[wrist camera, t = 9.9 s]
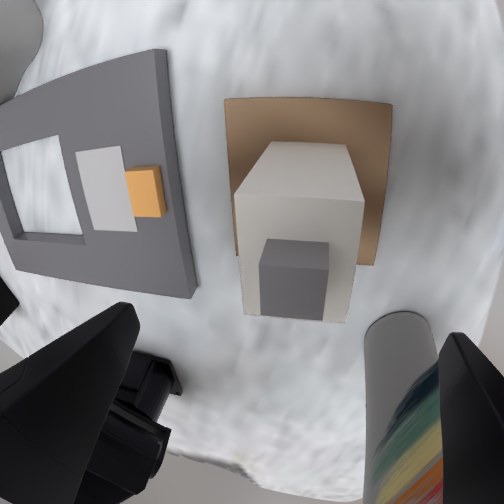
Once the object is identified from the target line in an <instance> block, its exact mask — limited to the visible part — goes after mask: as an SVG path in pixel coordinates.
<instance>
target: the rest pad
mask: <svg viewBox="0 0 504 504" xmlns="http://www.w3.org/2000/svg"><path fill="white" fill-rule="evenodd" d="M392 106H393V105H391V104H384V103H376V102H366V101H355V100H343V99H326V98H299V97H263V98H235V99H225V100H224V108H225V122H226V136H227V150H228V163H229V176H230V188H231V201H232V213H233V225H234V237H235V248H236V256H239V252H238V240H237V227H236V215H235V202H234V194H235V192H236V191H237V189H238V188H239V186H240V185H241V184H242V182H243V181H244V179H245V178H246V177H247V175H248V174H249V172H250V171H251V169H252V168H253V167H254V165H255V164H256V162H257V161H258V160H259V158H260V157H261V155H262V154H263V153H264V151H265V150H266V148H267V147H268V146H269V144H270V143H271V142H272V141H279V142H310V143H329V144H344V145H346V147H347V150H348V153H349V155H350V158H351V161H352V164H353V167H354V170H355V173H356V176H357V179H358V182H359V185H360V188H361V191H362V194H363V197H364V200H365V205H364V213H363V221H362V229H361V236H360V243H359V250H358V257H357V263H356V264H358V265H373V266H374V261H375V255H376V250H377V244H378V239H379V233H380V226H381V220H382V213H383V206H384V199H385V191H386V183H387V174H388V164H389V153H390V141H391V126H392Z"/></svg>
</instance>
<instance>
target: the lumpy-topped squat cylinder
mask: <svg viewBox="0 0 504 504" xmlns="http://www.w3.org/2000/svg"><path fill="white" fill-rule="evenodd" d="M42 37H43V19H42V15H41V12H40V10H39V8H38V6H37V5H36V3H35V1H34V0H0V105H2V104H4V103H6V102H7V101H9V100H11V99H13V97H14V95H15V93H16V91H17V88H18V85H19V83H20V80H21V78H22V76H23V74H24V72H25V71H26V69H27V68H28V66H29V65H30V63H31V62H32V61H33V59H34V58H35V56H36V54H37V53H38V50H39V48H40V45H41V42H42Z"/></svg>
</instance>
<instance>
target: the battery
mask: <svg viewBox="0 0 504 504" xmlns="http://www.w3.org/2000/svg"><path fill="white" fill-rule="evenodd" d="M18 305H19V303H18V301H17V300H16V298H15V297H14V296H13V294H12V293H11V292H10V290H9V289H8V288H7V286H6V285H5V284H4V282H3V281H2V279H1V278H0V326H1V325H2V323H3V322H4V321H5V320H6V319H7V318H8V317H9V316H10V314H11V313H12V312H13V311H14V310H15V309H16V308H17V307H18Z"/></svg>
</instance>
